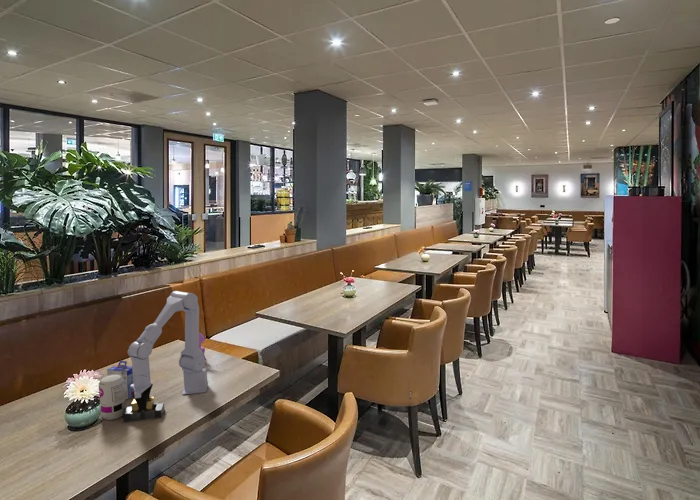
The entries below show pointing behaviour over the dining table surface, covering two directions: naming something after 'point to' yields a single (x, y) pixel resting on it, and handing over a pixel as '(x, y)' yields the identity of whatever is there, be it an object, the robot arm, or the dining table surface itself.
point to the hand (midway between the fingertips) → (144, 406)
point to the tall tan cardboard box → (149, 405)
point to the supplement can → (112, 396)
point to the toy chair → (201, 340)
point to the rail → (144, 413)
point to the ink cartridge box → (124, 377)
